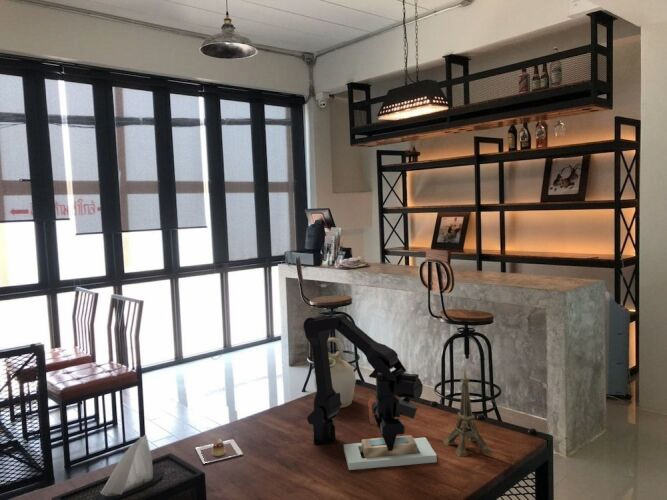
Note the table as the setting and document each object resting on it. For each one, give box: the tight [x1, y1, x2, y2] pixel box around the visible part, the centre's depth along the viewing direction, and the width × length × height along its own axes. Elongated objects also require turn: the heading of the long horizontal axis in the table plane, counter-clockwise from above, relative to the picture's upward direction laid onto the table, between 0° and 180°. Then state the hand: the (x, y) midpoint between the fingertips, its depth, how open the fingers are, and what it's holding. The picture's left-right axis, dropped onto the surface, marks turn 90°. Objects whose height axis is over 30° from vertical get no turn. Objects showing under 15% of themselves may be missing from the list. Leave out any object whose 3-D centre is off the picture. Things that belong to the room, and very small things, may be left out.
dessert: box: [195, 438, 244, 464], centre depth 165 cm, size 12×12×5 cm
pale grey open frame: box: [343, 437, 438, 471], centre depth 157 cm, size 25×12×2 cm, turn 95°
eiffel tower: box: [442, 369, 493, 458], centre depth 160 cm, size 11×11×25 cm
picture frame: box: [361, 434, 417, 458], centre depth 157 cm, size 15×6×3 cm, turn 96°
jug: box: [313, 336, 356, 409], centre depth 201 cm, size 15×16×25 cm
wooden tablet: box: [367, 397, 400, 427], centre depth 192 cm, size 27×10×2 cm, turn 178°
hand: (388, 445), depth 157 cm, fingers closed on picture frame, 6 cm apart
